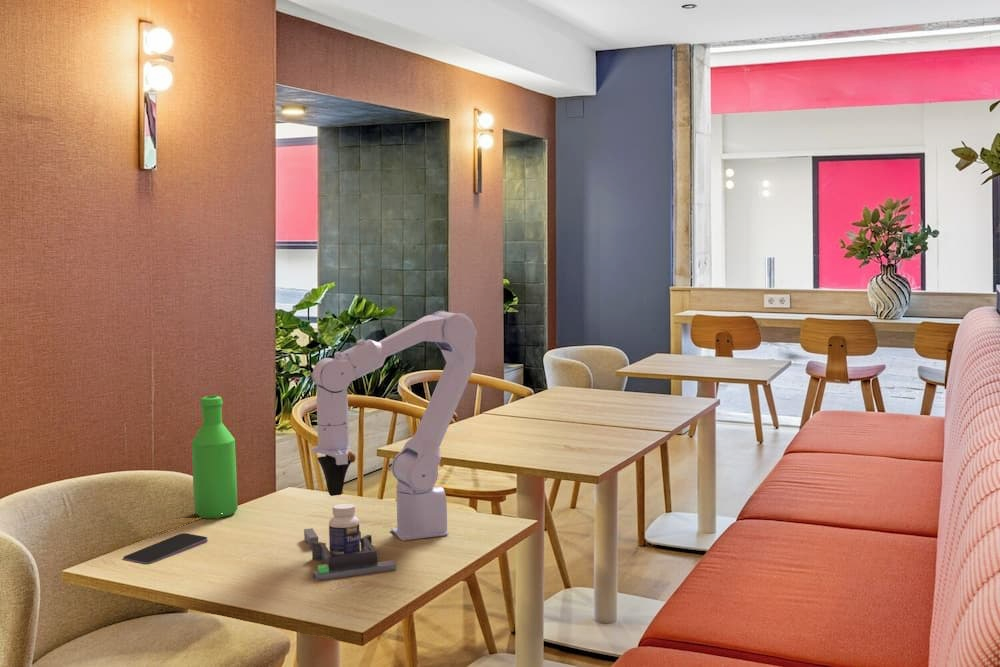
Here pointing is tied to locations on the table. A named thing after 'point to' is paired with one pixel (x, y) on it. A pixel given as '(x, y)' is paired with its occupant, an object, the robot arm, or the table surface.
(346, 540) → the pill bottle
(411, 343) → the robot arm
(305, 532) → the grey u-shaped piece
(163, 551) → the smartphone
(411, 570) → the table surface
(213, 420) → the bottle
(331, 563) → the grey bottle cradle
